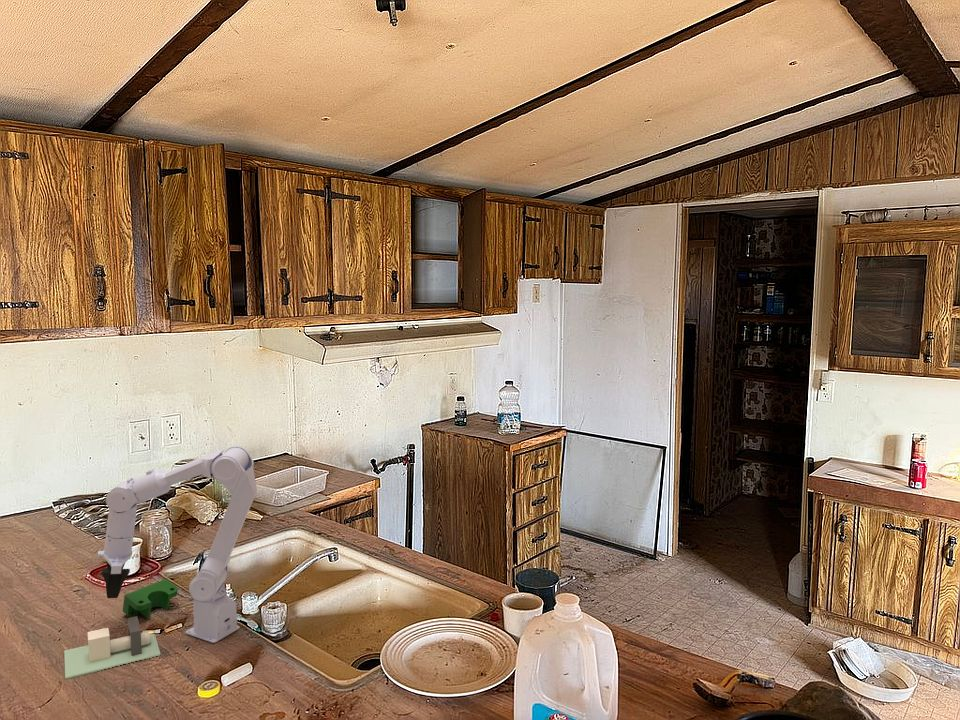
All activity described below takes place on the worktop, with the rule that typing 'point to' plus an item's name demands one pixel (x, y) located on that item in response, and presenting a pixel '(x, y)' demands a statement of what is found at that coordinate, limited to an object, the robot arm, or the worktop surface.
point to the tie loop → (134, 635)
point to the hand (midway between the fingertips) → (113, 589)
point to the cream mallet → (110, 644)
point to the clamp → (149, 598)
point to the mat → (80, 663)
